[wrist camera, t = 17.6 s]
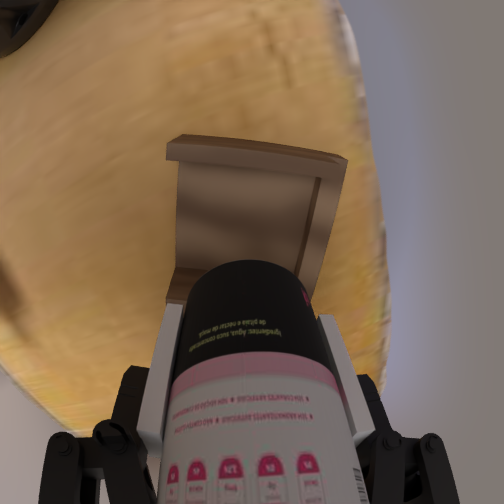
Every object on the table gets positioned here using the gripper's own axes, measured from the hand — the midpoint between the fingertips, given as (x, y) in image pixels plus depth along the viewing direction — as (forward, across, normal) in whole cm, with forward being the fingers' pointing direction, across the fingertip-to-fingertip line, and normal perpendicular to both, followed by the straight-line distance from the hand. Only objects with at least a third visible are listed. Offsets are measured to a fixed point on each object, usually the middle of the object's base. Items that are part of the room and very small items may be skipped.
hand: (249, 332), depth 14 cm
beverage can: (+2, 0, 0) cm, 2 cm away
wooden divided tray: (+15, +1, -6) cm, 16 cm away
